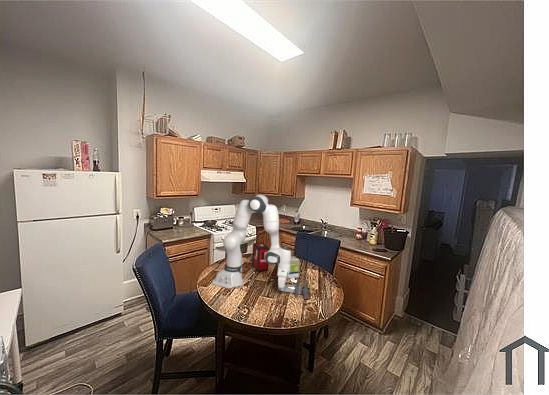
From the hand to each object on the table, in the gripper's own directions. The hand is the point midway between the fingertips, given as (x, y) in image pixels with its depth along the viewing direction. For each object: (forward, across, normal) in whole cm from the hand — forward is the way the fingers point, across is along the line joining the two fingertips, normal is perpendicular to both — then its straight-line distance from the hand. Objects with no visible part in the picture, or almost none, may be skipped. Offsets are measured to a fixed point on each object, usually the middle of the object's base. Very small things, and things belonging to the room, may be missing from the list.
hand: (282, 287), depth 158 cm
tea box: (+2, -25, 0) cm, 25 cm away
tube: (+2, 0, +6) cm, 7 cm away
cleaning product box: (+2, -33, -26) cm, 42 cm away
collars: (+2, 0, +15) cm, 15 cm away
